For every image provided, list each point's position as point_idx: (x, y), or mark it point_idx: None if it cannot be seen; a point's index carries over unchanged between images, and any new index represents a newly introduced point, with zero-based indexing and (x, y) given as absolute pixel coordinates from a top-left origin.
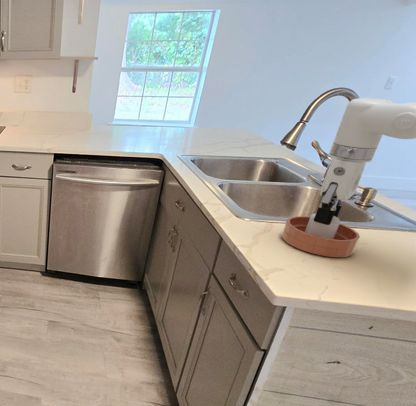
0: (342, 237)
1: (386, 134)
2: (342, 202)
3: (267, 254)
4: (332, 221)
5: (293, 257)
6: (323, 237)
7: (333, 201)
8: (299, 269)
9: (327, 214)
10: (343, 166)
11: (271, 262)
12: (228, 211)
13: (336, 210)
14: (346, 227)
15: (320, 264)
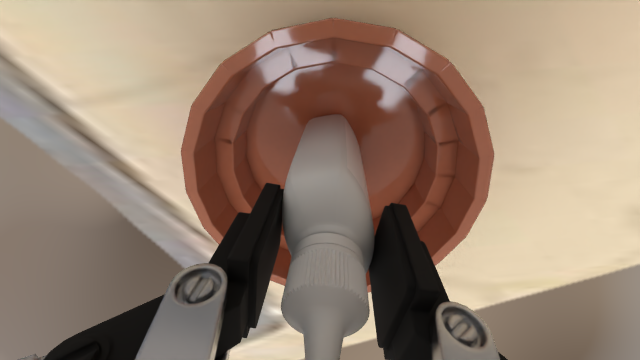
0: (263, 89)
1: None
2: (173, 283)
3: (525, 250)
4: (364, 203)
5: (509, 195)
6: (361, 160)
7: (228, 335)
8: (614, 170)
9: (440, 286)
10: None
11: (588, 236)
12: (256, 342)
13: (268, 243)
14: (214, 99)
15: (529, 119)
